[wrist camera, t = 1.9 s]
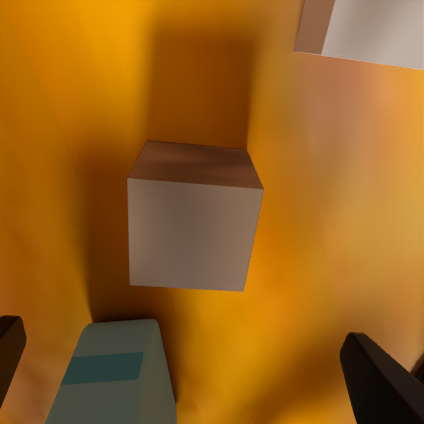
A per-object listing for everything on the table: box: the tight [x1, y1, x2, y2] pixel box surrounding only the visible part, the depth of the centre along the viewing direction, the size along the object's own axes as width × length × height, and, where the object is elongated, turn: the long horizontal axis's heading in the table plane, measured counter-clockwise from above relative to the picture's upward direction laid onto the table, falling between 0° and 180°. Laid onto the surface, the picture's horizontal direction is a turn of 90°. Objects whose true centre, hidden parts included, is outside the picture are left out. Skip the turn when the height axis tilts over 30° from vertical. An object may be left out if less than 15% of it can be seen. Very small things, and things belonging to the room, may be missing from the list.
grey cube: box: [127, 140, 264, 292], centre depth 15 cm, size 5×5×5 cm
